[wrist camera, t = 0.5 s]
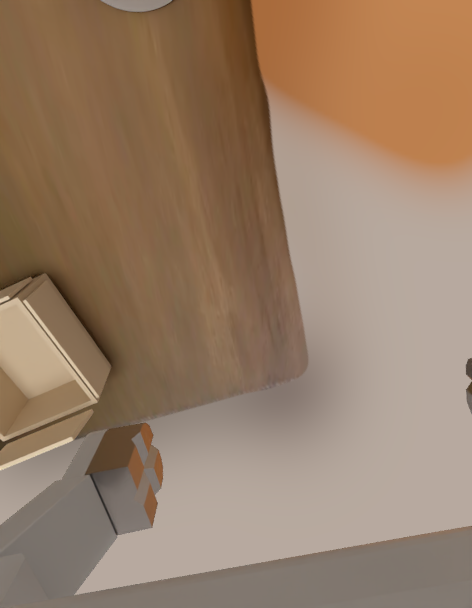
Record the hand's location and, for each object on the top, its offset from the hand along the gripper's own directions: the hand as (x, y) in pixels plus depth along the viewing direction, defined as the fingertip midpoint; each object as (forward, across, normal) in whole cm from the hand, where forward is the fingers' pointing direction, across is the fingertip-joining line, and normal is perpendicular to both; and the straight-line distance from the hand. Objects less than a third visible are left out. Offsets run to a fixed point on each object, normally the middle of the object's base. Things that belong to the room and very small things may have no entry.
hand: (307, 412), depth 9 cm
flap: (+29, +30, +18) cm, 45 cm away
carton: (+39, +32, +10) cm, 51 cm away
